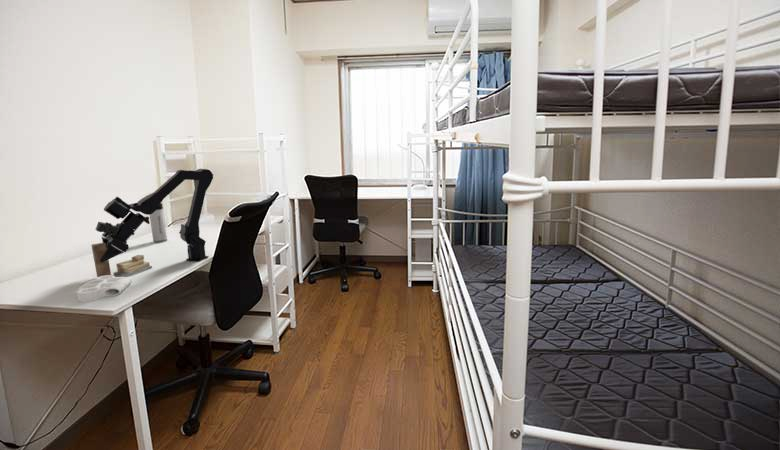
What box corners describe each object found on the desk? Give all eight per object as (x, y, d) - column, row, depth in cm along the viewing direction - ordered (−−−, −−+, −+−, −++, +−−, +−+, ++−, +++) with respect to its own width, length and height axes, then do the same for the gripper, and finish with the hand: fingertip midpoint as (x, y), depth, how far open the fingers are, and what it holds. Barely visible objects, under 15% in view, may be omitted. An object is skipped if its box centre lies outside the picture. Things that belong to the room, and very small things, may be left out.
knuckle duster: (116, 299, 136) (65, 304, 132) (136, 281, 153) (91, 285, 149) (115, 290, 135) (63, 294, 132) (134, 272, 152) (89, 276, 149)
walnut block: (109, 275, 159) (104, 242, 156) (111, 277, 156) (105, 244, 154) (97, 277, 157) (91, 244, 154) (98, 280, 154) (92, 246, 151)
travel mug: (156, 240, 213) (150, 201, 209) (169, 239, 214) (164, 201, 210) (150, 243, 207) (144, 203, 203) (164, 242, 208) (158, 203, 204)
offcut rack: (151, 268, 167) (149, 254, 166) (127, 276, 157) (124, 262, 155) (139, 266, 169) (136, 253, 168) (113, 275, 159) (111, 260, 158)
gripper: (104, 210, 161) (74, 242, 156) (113, 216, 148) (80, 252, 143) (130, 227, 168) (102, 258, 163) (141, 234, 154) (111, 269, 149)
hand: (98, 259), depth 154 cm, fingers open, 9 cm apart
